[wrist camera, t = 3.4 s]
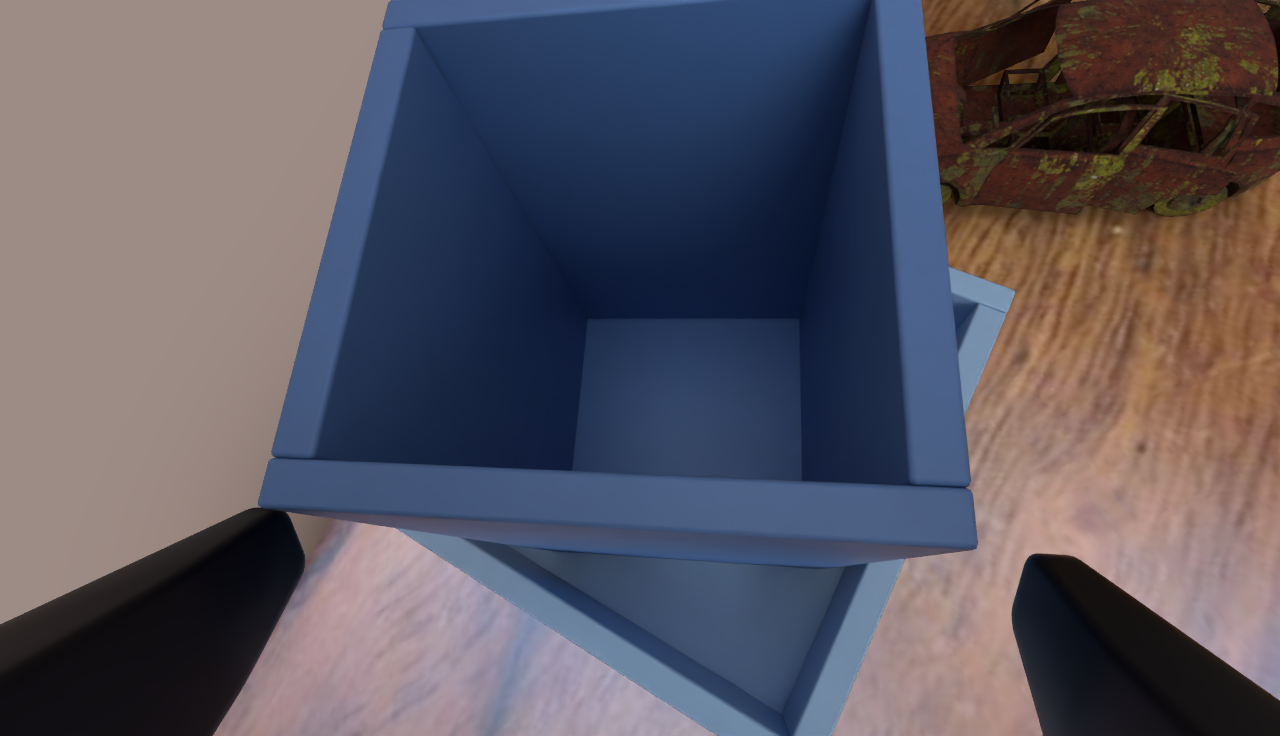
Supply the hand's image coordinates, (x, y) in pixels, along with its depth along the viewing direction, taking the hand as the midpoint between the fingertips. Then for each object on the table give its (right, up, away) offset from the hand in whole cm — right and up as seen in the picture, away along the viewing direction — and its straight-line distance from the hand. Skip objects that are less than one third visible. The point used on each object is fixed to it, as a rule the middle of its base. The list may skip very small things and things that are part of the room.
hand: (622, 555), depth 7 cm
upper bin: (+1, +1, +8) cm, 9 cm away
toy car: (+13, +10, +13) cm, 21 cm away
